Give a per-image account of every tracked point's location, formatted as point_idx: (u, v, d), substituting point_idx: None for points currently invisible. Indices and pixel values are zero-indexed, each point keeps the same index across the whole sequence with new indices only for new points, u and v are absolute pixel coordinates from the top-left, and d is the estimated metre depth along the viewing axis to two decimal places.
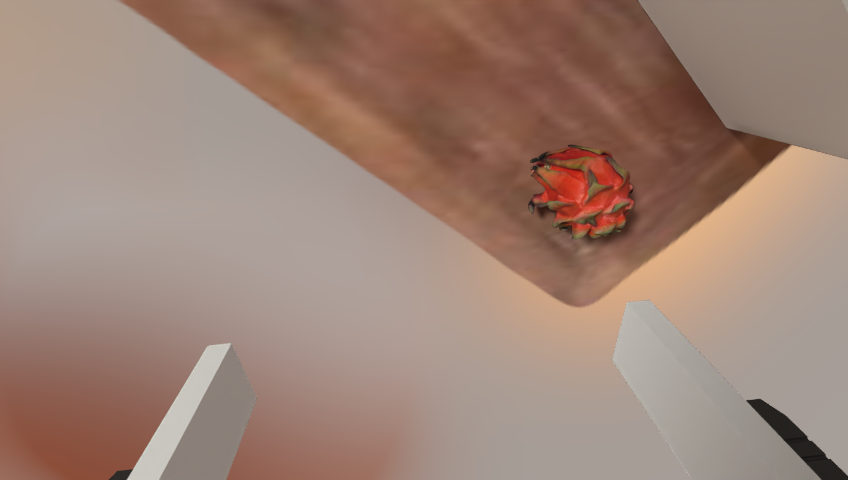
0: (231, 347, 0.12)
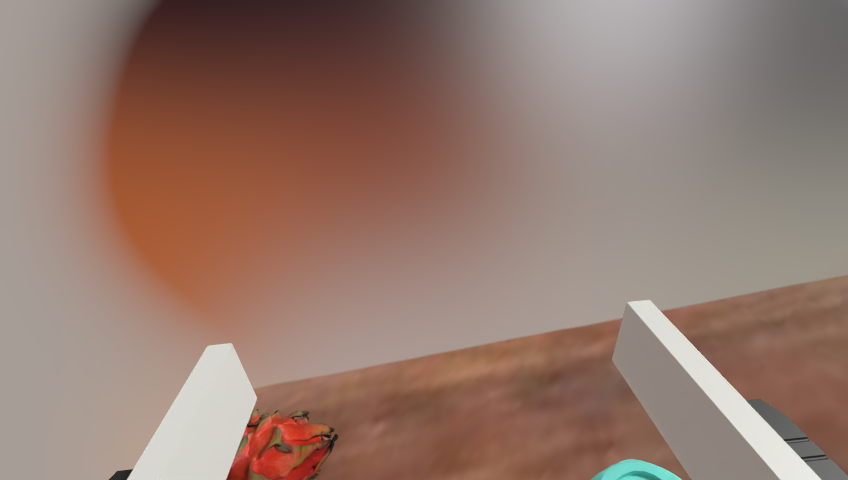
0: (231, 347, 0.12)
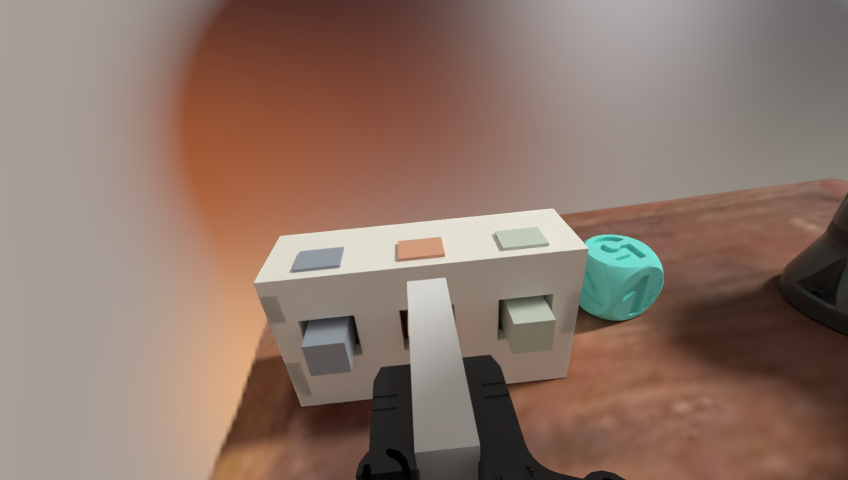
0: None
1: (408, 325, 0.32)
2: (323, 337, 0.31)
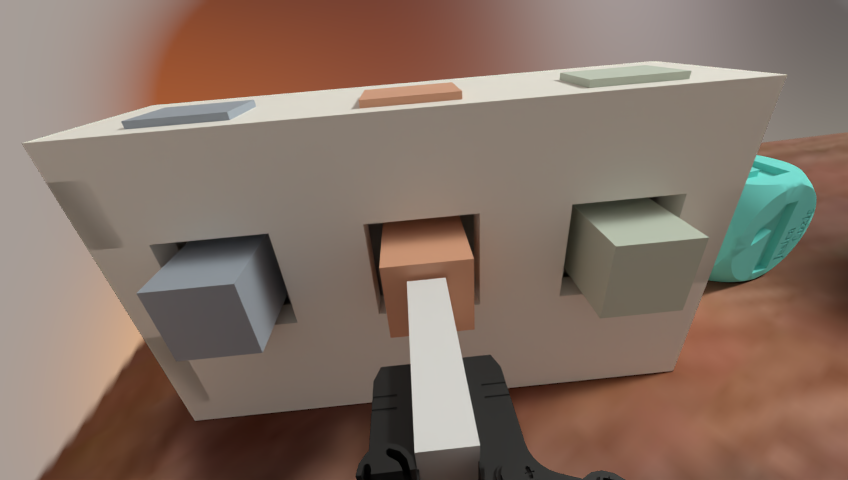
0: None
1: (381, 251, 0.15)
2: (194, 276, 0.14)
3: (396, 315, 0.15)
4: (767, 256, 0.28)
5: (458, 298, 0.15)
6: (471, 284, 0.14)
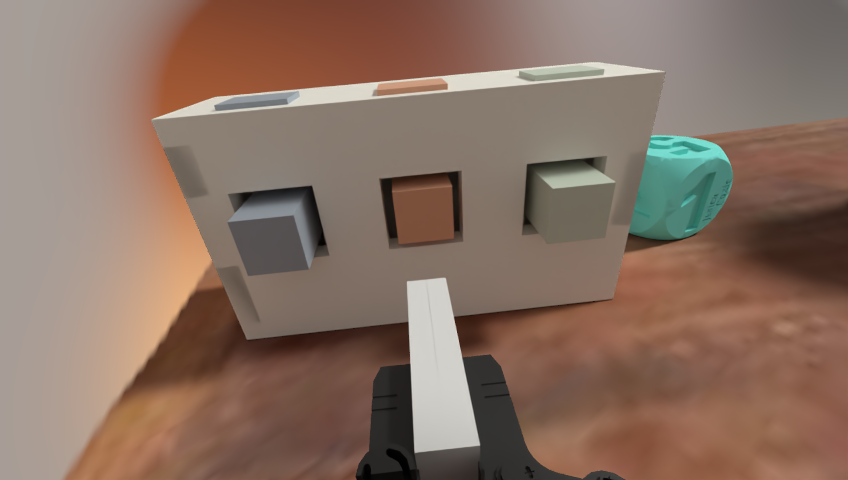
0: None
1: (393, 185, 0.23)
2: (264, 212, 0.20)
3: (402, 227, 0.23)
4: (697, 218, 0.34)
5: (442, 214, 0.23)
6: (451, 204, 0.22)
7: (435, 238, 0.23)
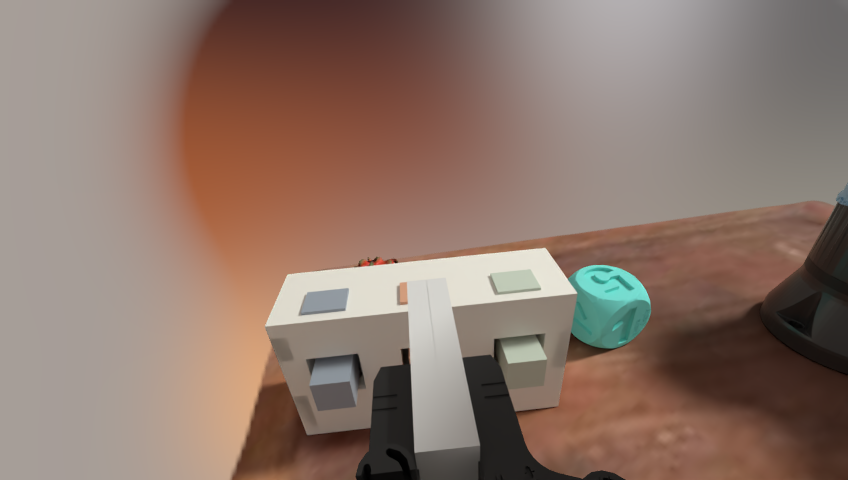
0: None
1: (408, 348, 0.35)
2: (330, 376, 0.33)
3: None
4: (627, 333, 0.47)
5: None
6: None
7: None
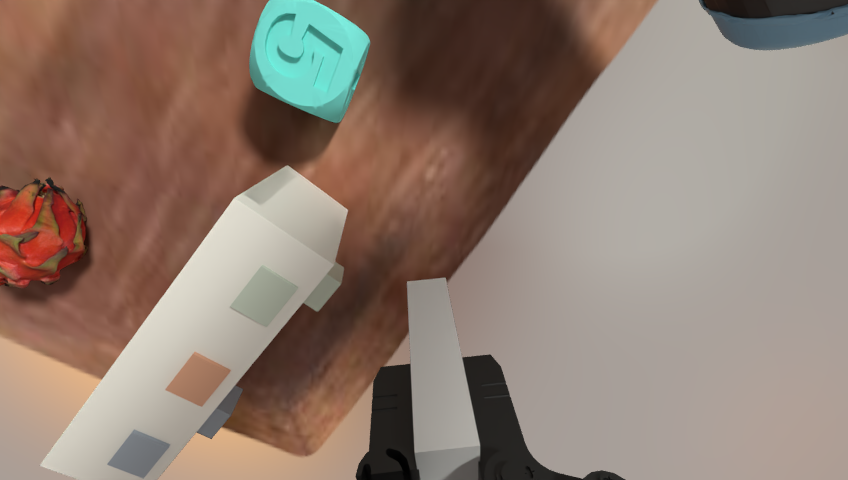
0: None
1: None
2: (213, 424, 0.36)
3: None
4: (357, 73, 0.36)
5: None
6: None
7: None
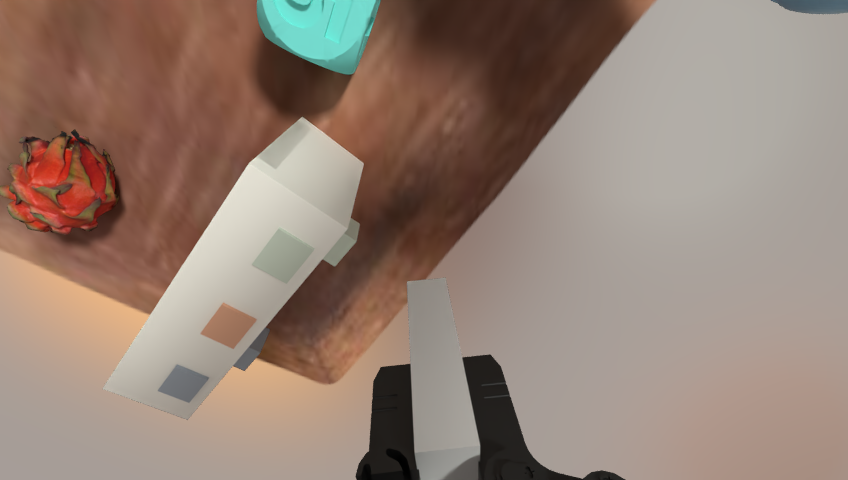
0: None
1: None
2: (245, 359, 0.40)
3: None
4: None
5: None
6: None
7: None
